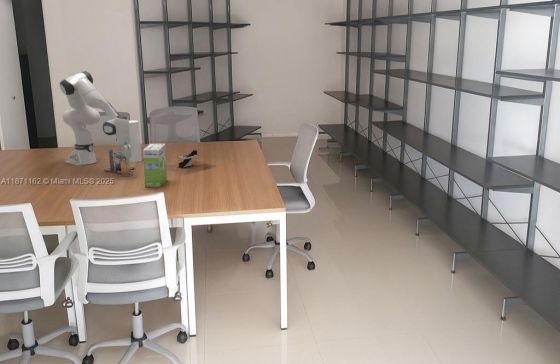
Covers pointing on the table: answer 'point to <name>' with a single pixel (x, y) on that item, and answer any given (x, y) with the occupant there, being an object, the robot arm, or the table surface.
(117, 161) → the grey ridged piece
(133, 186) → the table surface
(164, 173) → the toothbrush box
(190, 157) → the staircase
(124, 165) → the tan rounded piece
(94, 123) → the robot arm
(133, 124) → the cylinder container
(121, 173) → the grey rounded piece
